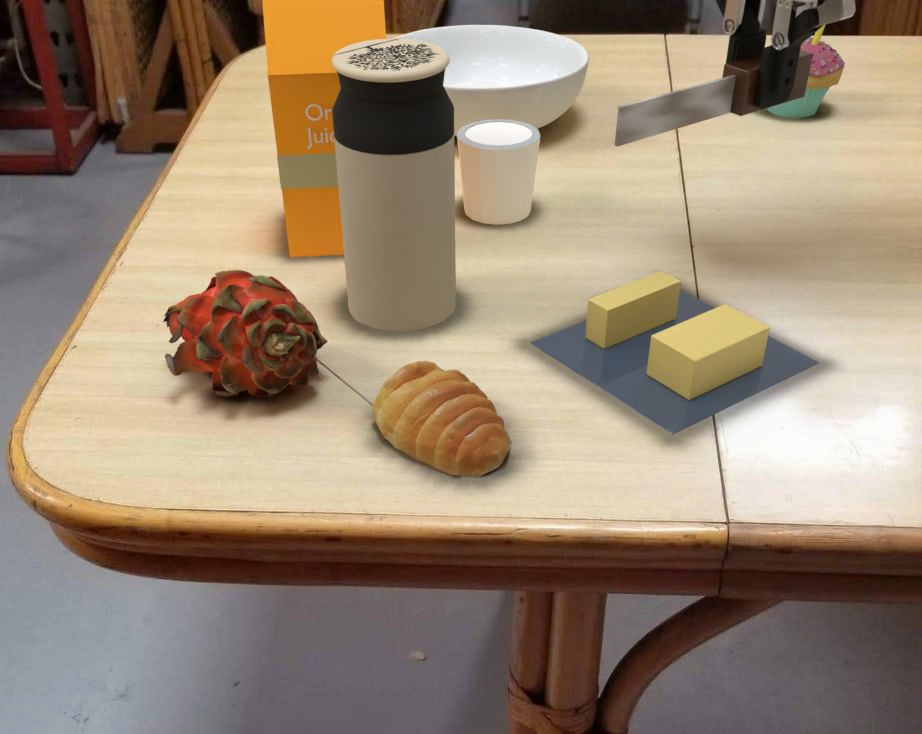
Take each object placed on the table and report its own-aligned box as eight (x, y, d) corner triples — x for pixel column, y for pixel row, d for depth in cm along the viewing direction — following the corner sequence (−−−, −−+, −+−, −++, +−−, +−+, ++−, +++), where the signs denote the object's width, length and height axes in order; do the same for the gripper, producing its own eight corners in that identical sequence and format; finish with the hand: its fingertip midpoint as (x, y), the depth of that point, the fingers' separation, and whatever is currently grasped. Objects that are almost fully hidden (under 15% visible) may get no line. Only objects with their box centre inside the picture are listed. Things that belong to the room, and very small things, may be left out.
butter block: (718, 342, 75) (725, 303, 73) (762, 366, 72) (770, 326, 70) (645, 374, 72) (650, 335, 70) (689, 400, 69) (695, 360, 67)
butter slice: (656, 308, 78) (661, 270, 76) (676, 318, 77) (681, 280, 75) (584, 337, 75) (587, 299, 73) (604, 349, 74) (607, 310, 72)
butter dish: (671, 291, 81) (672, 284, 81) (817, 369, 73) (819, 362, 73) (529, 349, 75) (529, 342, 75) (671, 442, 67) (672, 434, 66)
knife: (780, 89, 79) (789, 46, 77) (804, 97, 78) (814, 53, 76) (604, 141, 71) (608, 94, 69) (627, 151, 69) (632, 103, 67)
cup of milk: (521, 193, 95) (523, 113, 91) (549, 225, 90) (553, 142, 86) (447, 204, 94) (446, 123, 89) (471, 236, 89) (471, 152, 84)
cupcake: (839, 105, 112) (867, -22, 104) (824, 133, 106) (853, 1, 98) (757, 94, 114) (778, -30, 106) (738, 121, 108) (759, -9, 101)
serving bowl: (627, 132, 106) (634, 59, 102) (454, 181, 97) (453, 104, 93) (503, 77, 119) (504, 10, 115) (340, 116, 110) (334, 45, 106)
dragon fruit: (327, 436, 70) (192, 410, 76) (370, 320, 72) (234, 303, 77) (254, 380, 63) (110, 355, 68) (304, 252, 64) (158, 238, 70)
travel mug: (476, 318, 79) (477, 61, 67) (381, 349, 75) (365, 84, 64) (421, 276, 84) (413, 29, 72) (330, 302, 80) (306, 49, 69)
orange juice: (292, 221, 91) (261, -40, 78) (395, 216, 92) (382, -44, 79) (289, 262, 86) (255, -12, 72) (399, 257, 86) (386, -16, 73)
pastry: (537, 458, 66) (540, 406, 63) (451, 502, 63) (449, 449, 60) (444, 392, 71) (443, 342, 69) (360, 430, 68) (356, 378, 66)
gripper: (963, -212, 61) (882, 117, 73) (746, -234, 70) (707, 60, 83) (882, -200, 57) (812, 143, 70) (666, -225, 67) (637, 81, 79)
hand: (755, 96), depth 76 cm, fingers closed on knife, 2 cm apart
